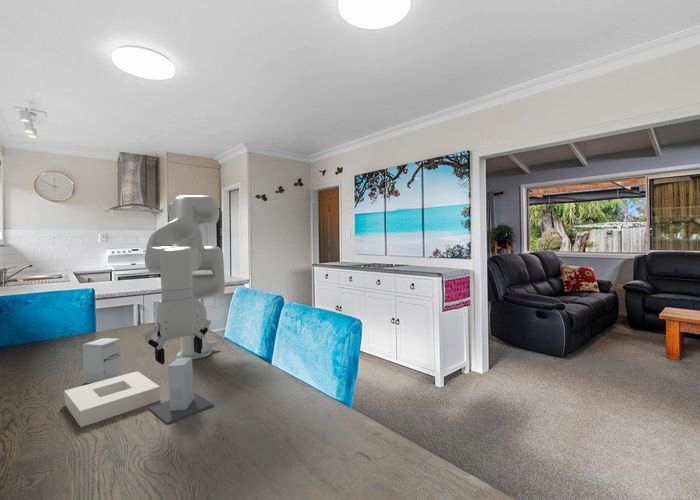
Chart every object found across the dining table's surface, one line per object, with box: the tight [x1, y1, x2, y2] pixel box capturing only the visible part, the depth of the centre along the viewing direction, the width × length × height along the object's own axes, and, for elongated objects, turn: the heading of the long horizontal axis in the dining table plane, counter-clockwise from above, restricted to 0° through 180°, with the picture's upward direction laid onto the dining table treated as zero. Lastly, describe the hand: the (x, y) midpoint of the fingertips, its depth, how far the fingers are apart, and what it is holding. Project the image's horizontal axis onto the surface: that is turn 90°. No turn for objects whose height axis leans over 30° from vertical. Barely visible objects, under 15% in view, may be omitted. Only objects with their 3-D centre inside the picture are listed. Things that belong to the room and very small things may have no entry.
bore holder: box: [64, 371, 161, 428], centre depth 97 cm, size 18×18×4 cm
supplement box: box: [82, 337, 122, 384], centre depth 114 cm, size 7×7×13 cm
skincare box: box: [167, 357, 195, 411], centre depth 94 cm, size 6×4×12 cm
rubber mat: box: [148, 392, 215, 425], centre depth 94 cm, size 12×12×1 cm
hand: (180, 357), depth 94 cm, fingers open, 9 cm apart
